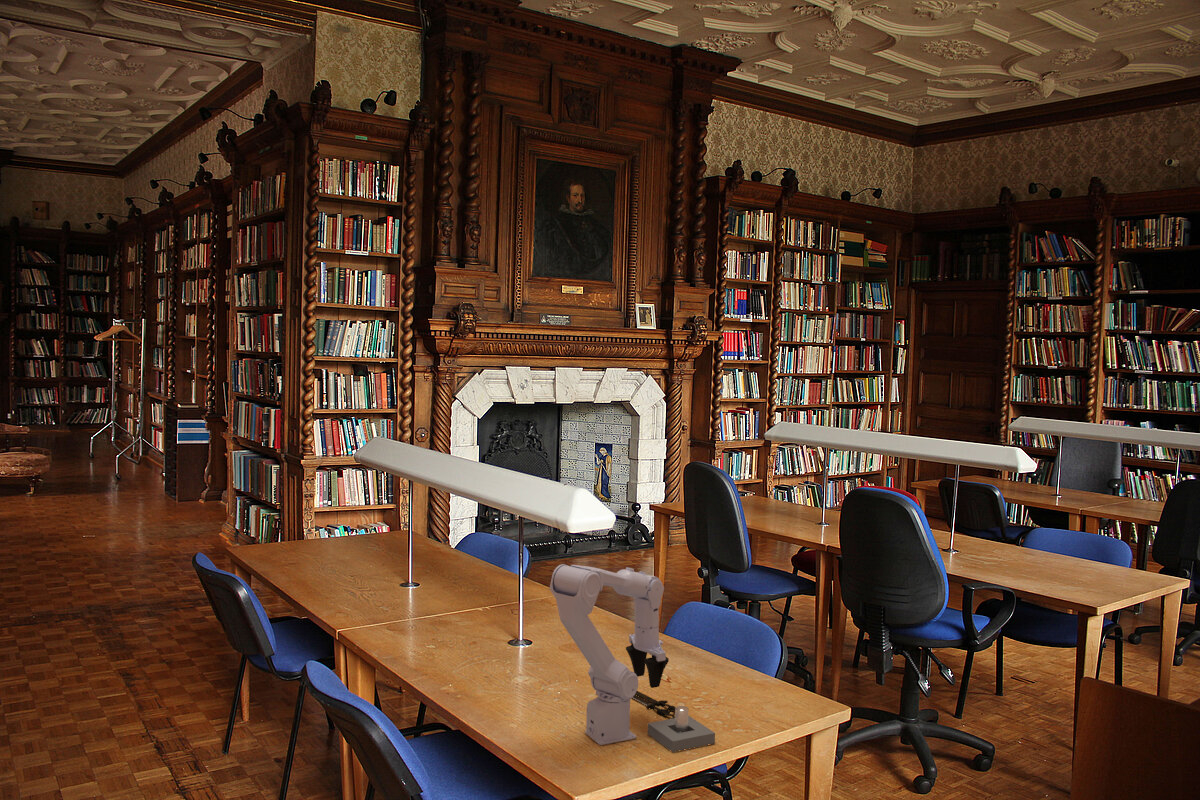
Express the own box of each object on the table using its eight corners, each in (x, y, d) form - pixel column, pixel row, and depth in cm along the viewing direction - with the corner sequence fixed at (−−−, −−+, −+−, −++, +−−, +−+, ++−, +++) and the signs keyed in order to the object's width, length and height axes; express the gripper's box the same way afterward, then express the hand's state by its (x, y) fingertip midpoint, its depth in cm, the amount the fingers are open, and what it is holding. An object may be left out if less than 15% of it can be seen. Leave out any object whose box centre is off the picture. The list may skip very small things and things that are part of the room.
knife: (612, 690, 240) (612, 685, 240) (633, 686, 243) (633, 681, 243) (667, 724, 218) (667, 718, 218) (690, 719, 221) (690, 713, 221)
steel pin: (678, 742, 207) (679, 711, 207) (672, 737, 210) (672, 707, 209) (690, 740, 208) (690, 709, 208) (683, 735, 211) (683, 705, 211)
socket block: (672, 752, 202) (672, 741, 201) (647, 733, 211) (647, 723, 211) (714, 743, 207) (715, 732, 206) (688, 726, 216) (688, 715, 216)
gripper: (676, 631, 213) (677, 688, 214) (646, 614, 226) (647, 668, 227) (650, 636, 210) (650, 694, 211) (621, 618, 223) (621, 673, 224)
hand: (647, 681), depth 219 cm, fingers open, 7 cm apart
